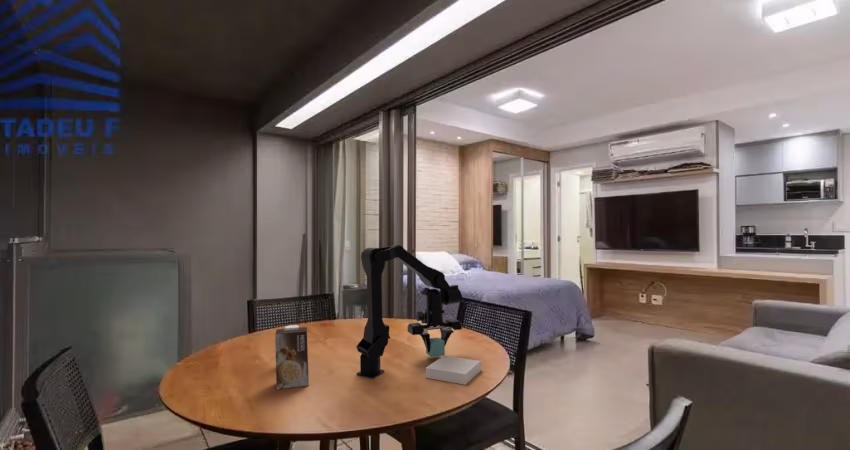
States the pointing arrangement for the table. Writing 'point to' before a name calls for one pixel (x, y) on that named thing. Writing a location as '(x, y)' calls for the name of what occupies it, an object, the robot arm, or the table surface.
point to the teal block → (436, 347)
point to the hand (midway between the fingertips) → (435, 351)
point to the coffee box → (291, 357)
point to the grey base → (453, 369)
